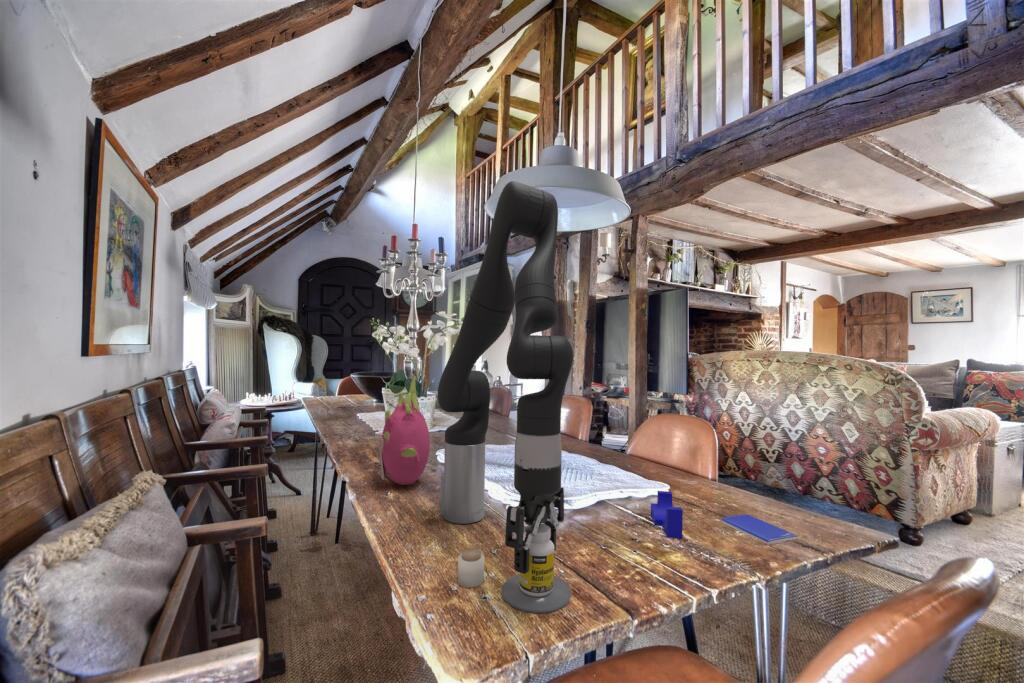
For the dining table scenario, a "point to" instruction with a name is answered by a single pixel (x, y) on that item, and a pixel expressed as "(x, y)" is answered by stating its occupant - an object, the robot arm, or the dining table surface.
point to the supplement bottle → (539, 564)
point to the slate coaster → (536, 604)
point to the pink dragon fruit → (404, 440)
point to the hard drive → (758, 529)
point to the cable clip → (667, 515)
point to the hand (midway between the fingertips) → (536, 560)
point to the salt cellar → (471, 568)
